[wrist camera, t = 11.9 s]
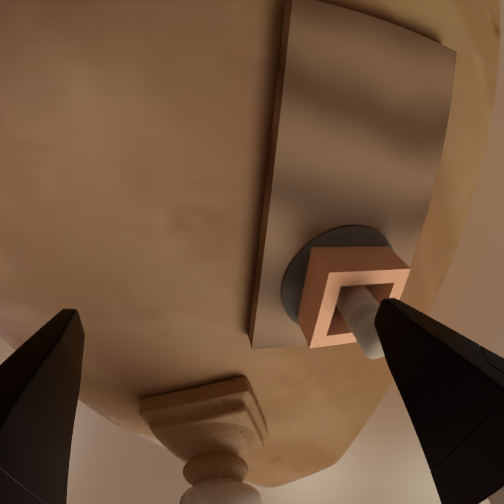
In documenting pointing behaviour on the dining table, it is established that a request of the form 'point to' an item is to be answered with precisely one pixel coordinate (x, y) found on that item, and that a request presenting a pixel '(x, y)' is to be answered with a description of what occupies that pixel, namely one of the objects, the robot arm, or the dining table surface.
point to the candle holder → (210, 437)
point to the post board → (346, 157)
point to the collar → (345, 274)
